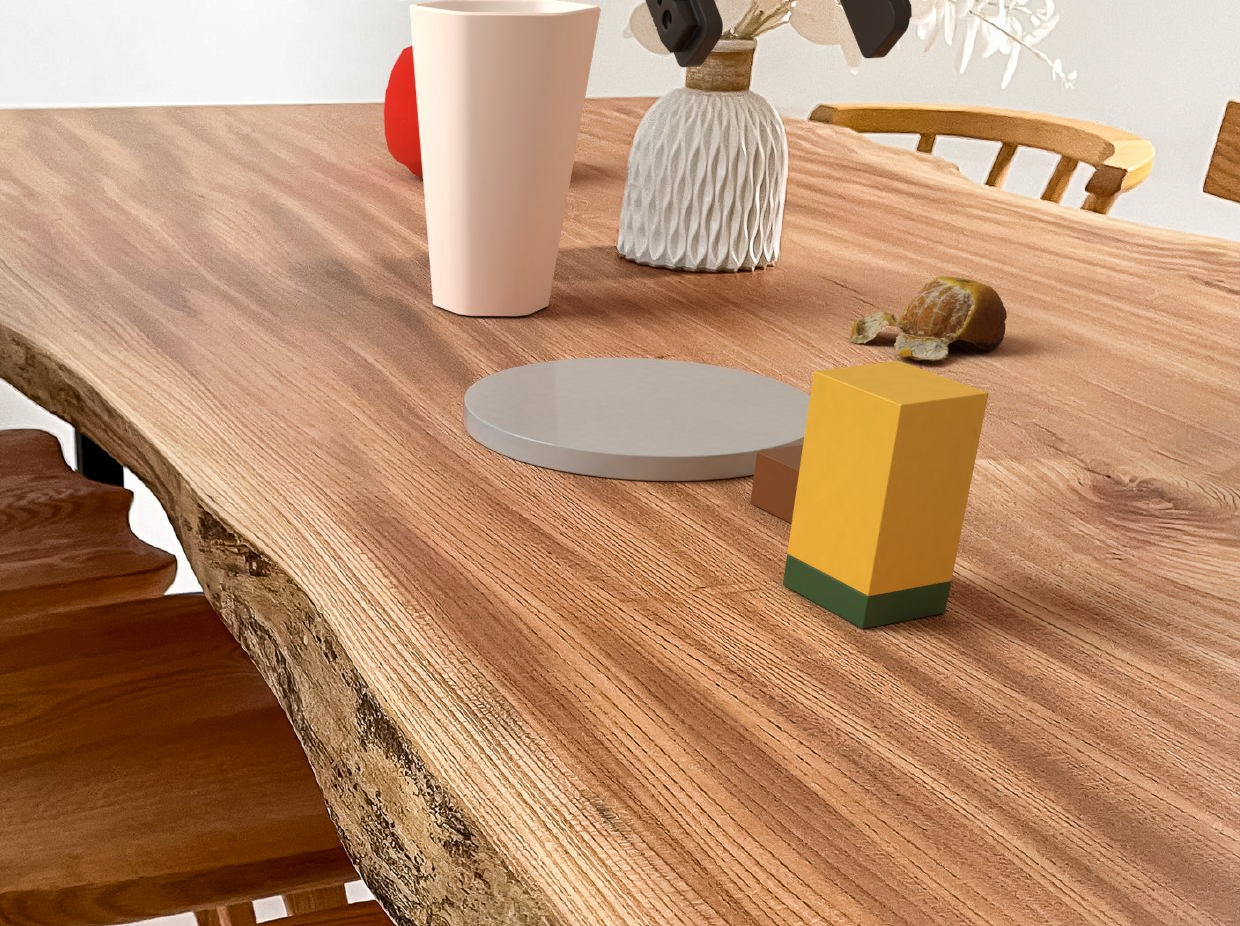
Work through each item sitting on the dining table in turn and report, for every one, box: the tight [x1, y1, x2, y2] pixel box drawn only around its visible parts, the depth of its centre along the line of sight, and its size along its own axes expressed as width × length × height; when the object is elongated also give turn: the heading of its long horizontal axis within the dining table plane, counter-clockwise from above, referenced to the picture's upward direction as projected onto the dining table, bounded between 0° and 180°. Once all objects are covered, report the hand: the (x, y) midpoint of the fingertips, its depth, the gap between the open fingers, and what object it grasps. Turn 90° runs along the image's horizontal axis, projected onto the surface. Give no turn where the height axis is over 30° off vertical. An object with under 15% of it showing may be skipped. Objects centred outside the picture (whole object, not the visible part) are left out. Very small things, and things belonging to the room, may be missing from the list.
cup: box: [409, 0, 602, 317], centre depth 108 cm, size 11×10×17 cm
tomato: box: [383, 44, 423, 180], centre depth 152 cm, size 14×13×10 cm
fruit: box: [849, 276, 1008, 362], centre depth 103 cm, size 8×8×4 cm
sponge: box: [782, 360, 989, 629], centre depth 67 cm, size 5×4×8 cm
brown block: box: [749, 445, 803, 525], centre depth 78 cm, size 4×4×2 cm
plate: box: [462, 357, 811, 482], centre depth 89 cm, size 18×18×1 cm
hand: (799, 47), depth 66 cm, fingers open, 8 cm apart
